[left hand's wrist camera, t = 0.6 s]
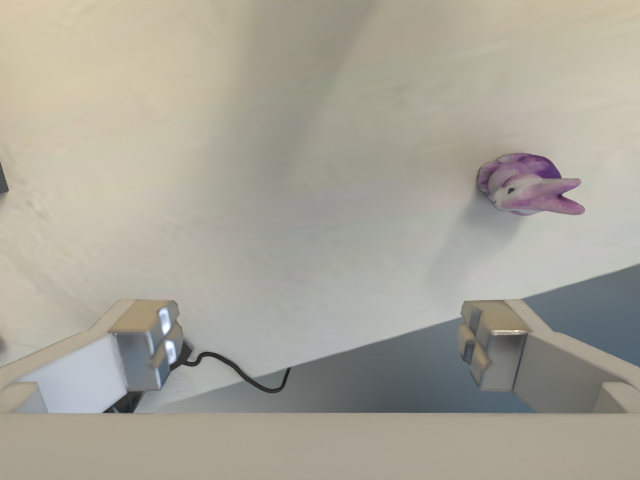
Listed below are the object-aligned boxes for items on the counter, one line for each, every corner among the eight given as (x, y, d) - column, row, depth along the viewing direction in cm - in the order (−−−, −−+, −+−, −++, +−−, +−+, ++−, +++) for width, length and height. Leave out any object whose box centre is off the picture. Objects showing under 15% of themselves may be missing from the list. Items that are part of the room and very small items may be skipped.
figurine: (459, 181, 54) (508, 208, 40) (518, 133, 52) (592, 144, 38) (494, 224, 57) (551, 265, 43) (552, 181, 54) (633, 208, 40)
